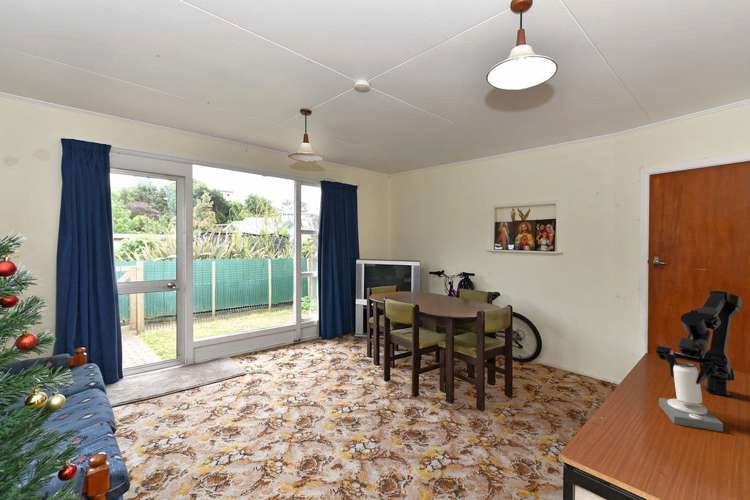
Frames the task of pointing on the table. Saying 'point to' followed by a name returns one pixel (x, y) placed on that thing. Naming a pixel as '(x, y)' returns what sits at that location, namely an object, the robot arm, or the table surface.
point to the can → (687, 383)
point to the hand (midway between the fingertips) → (684, 380)
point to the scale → (690, 414)
